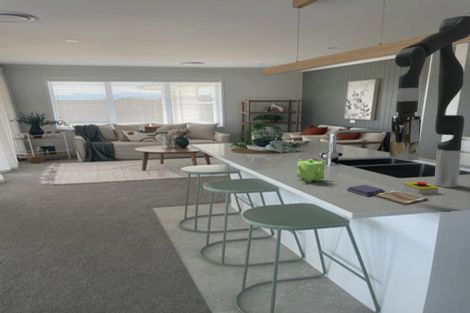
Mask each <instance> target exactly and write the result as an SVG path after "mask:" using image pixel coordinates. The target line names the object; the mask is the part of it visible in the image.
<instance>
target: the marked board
mask: <svg viewBox="0 0 470 313" xmlns="http://www.w3.org/2000/svg"><path fill="white" fill-rule="evenodd" d="M374 197H376V198H379V199H383V200H387V201H390V202H393V203H396V204H400V205H403V206H407V205H411V204H415V203H420V202H425V201H428V200H429V198H427V197H424V196H421V195H420V196H419V195H415V194H412V193H408V192H403V191H399V190H392V191H387V192H386V191H385V193H380V194H376V195H374Z"/></svg>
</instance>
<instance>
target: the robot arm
mask: <svg viewBox="0 0 470 313" xmlns="http://www.w3.org/2000/svg"><path fill="white" fill-rule="evenodd" d="M469 36H470V15H460V16H459V15H458V16H453V17H448V18H444V19H443V20H442V21H441V22H440V24H439V29H438V32H435V33H432V34H430V35H427V36H426V37H424V38H422V39H421V40H419V41H417V42H415V43H413V44H410V45H409V46H405V47H403V48H401V49H400V50H398V52H397V53H396V55H395V57H394V62H395V64H396V65H397V67H400V68H408V67H409V68H408V70H407V71H406V72H404V73H401V74H400V75H399V77H398V85H397V86H398V87H397V94H396V104H395V105H396V106H395V107H396V108H395V112H396V113H397V116H391V120H392V132H395V133H396V143H401V142H402V134H401V133H402V132H403V128H404V124H403V125H399V122H400V120H401V122H403V120H421V115H415V113H417V112H418V110H419V96H420V95H419V94H420V92H419V86H420V84H419V83H420V76H421V75H422V74H421V73H422V71H423V67H424V65H425V62H426V59H427V58H429V57H430V56H431V55H433V54H435V53H436V52H437V51H438V52H439V65H438V68H439V69H438V80H437V81H438V82H437V107H436V116H435V124H434V129H435V130H434V131H435V133H436V134H437V135H439V136H440V135H441V136H442V135H443V136H453V137H452V138H450V139H449V140H446V141H440V142H439V143H437V147H436V157H435V158H436V159H435V168H434V169H435V171H434V180H433V181H434V182H433V184H434V186H436V187H442V188H457V187H458V186H459V180H460V179H459V177H460V170H461V169H460V168H461V167H460V166H461V165H460V164H461V163H460V161H461V152H462V150H461V149H462V140H463V132H464V127H465V117H464V116H463V115H460V114H456V115H455V114H446V111H447V108H448V107H449V105H450V104H451V103H452V101H453V100H454V99H455V97H456V96H457V95H458V94H459V93H460V91H461V90H462V88H463V86H464V78H465V75H464V74H465V72H464V70H465V69H464V68H463V65H462V64H461V62H460V61H459V59H458V58H457V56H456V55H455V52H454V48H453V44H454V43H456V42H458V41H461V40H464V39H466V38H469ZM395 126H396V129H395ZM399 128H400V130H399Z"/></svg>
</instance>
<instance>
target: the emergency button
mask: <svg viewBox="0 0 470 313" xmlns="http://www.w3.org/2000/svg"><path fill="white" fill-rule="evenodd" d="M399 188H400V189H403V190H405V191H409V192H411V193H414V194H416V193H417V195H418V196H419V195H420V196H422V197H424V196H425V195H426V196H437V195H441V193H439V186H437V185H432V184H429V183H427V182H425V181H412V182H411V181H409V182H403V184H402V186H400V187H399Z"/></svg>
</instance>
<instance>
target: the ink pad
mask: <svg viewBox="0 0 470 313" xmlns="http://www.w3.org/2000/svg"><path fill="white" fill-rule="evenodd" d="M346 191H348V192H351V193H354V194H357V195H360V196H363V197H373V196H375V195H376V194H380V193H386V190H384V188H379V187H376V186H373V185H368V184H360V185H354V186H349V187H348V188H347V189H346Z"/></svg>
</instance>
